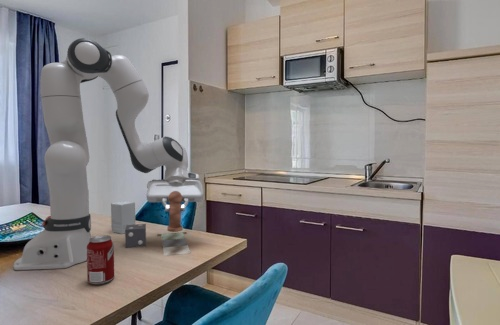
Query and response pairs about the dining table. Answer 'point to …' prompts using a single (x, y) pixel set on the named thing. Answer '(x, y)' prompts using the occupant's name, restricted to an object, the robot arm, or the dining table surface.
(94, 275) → the soda can
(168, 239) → the game board
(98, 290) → the dining table surface
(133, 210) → the supplement box
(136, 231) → the die
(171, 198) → the pawn
